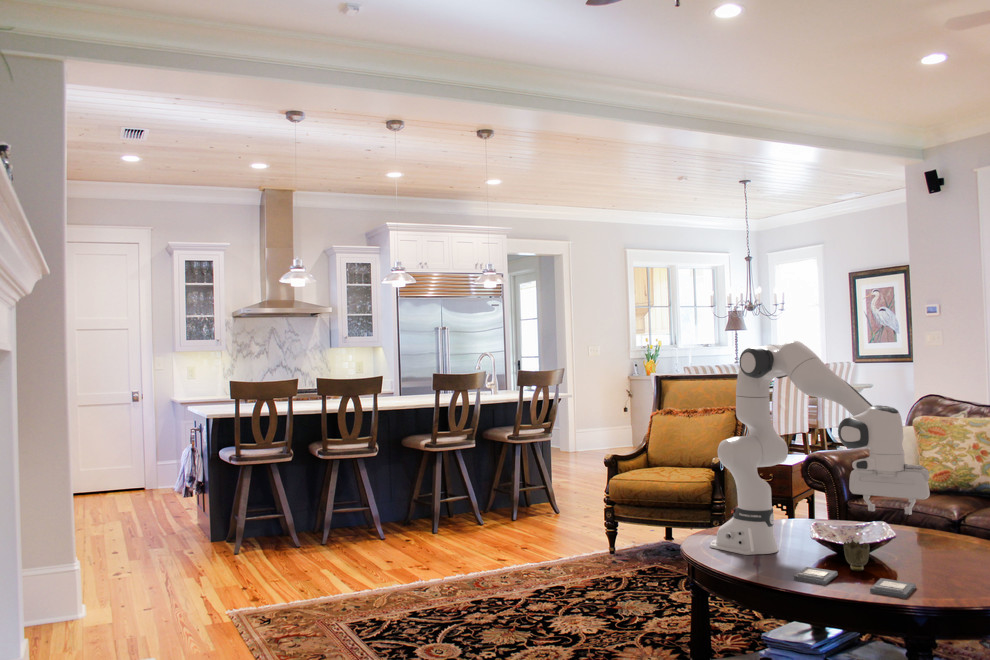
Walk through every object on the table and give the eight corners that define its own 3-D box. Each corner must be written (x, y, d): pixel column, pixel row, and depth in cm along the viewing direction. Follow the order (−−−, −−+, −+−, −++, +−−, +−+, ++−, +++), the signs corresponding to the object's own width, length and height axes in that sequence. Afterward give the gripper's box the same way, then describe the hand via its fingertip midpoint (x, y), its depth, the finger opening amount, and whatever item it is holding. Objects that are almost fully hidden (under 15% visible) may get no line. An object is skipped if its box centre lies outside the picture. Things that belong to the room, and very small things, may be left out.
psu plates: (793, 579, 225) (793, 573, 225) (806, 570, 234) (806, 564, 234) (906, 598, 205) (905, 592, 205) (915, 587, 215) (915, 581, 215)
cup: (839, 569, 234) (838, 543, 234) (850, 564, 238) (849, 539, 238) (863, 575, 228) (863, 548, 228) (874, 570, 233) (874, 544, 233)
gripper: (931, 464, 210) (933, 514, 210) (852, 460, 223) (854, 507, 223) (926, 467, 205) (929, 518, 205) (846, 462, 219) (848, 510, 218)
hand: (889, 512), depth 214 cm, fingers open, 8 cm apart
